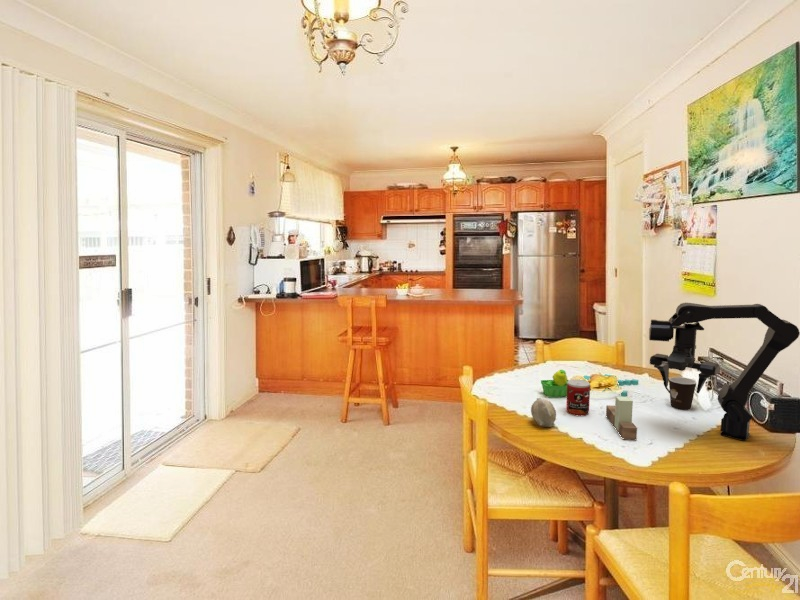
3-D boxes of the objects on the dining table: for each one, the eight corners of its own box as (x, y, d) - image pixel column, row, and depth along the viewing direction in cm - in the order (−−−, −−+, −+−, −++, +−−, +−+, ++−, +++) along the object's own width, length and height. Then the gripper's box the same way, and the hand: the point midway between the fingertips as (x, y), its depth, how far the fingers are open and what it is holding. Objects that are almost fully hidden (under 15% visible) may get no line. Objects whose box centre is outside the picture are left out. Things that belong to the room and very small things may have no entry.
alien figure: (638, 384, 200) (589, 376, 213) (638, 379, 200) (589, 371, 213) (625, 398, 185) (573, 388, 198) (625, 392, 185) (574, 383, 197)
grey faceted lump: (548, 436, 157) (551, 413, 152) (524, 426, 161) (526, 403, 157) (559, 419, 163) (562, 396, 158) (536, 410, 168) (538, 388, 163)
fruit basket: (567, 391, 193) (567, 364, 191) (576, 398, 184) (577, 370, 183) (539, 392, 192) (540, 365, 191) (547, 399, 184) (548, 371, 182)
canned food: (566, 415, 168) (567, 385, 167) (566, 407, 176) (567, 378, 174) (589, 417, 166) (590, 386, 164) (588, 409, 173) (589, 380, 172)
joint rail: (606, 416, 166) (606, 405, 166) (618, 416, 166) (618, 405, 165) (622, 439, 148) (623, 427, 147) (636, 440, 147) (637, 427, 146)
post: (627, 426, 156) (628, 396, 154) (631, 431, 152) (632, 401, 150) (614, 425, 156) (615, 396, 155) (618, 430, 152) (619, 400, 151)
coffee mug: (698, 411, 169) (700, 384, 167) (672, 410, 170) (674, 383, 169) (684, 400, 180) (686, 374, 179) (660, 399, 182) (661, 374, 180)
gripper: (644, 342, 153) (641, 389, 155) (711, 352, 139) (707, 403, 141) (657, 336, 160) (654, 381, 162) (722, 345, 147) (718, 394, 149)
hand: (681, 389), depth 154 cm, fingers open, 9 cm apart
